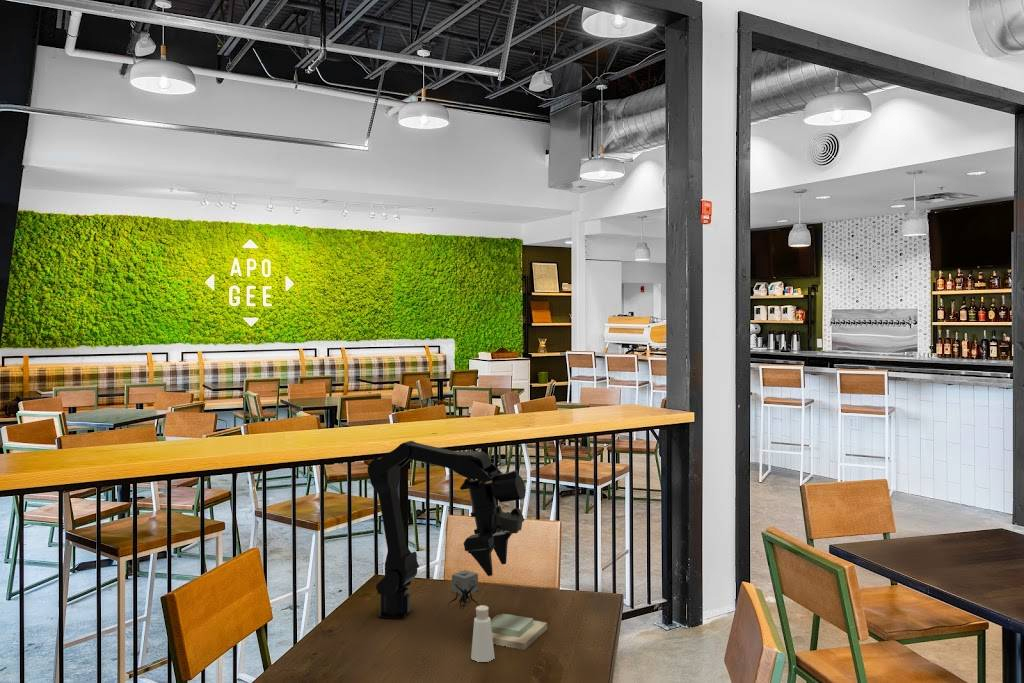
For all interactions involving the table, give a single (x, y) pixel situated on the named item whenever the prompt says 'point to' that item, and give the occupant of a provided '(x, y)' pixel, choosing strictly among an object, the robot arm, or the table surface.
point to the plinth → (523, 638)
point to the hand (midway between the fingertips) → (497, 569)
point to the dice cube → (464, 581)
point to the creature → (464, 596)
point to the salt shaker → (482, 636)
